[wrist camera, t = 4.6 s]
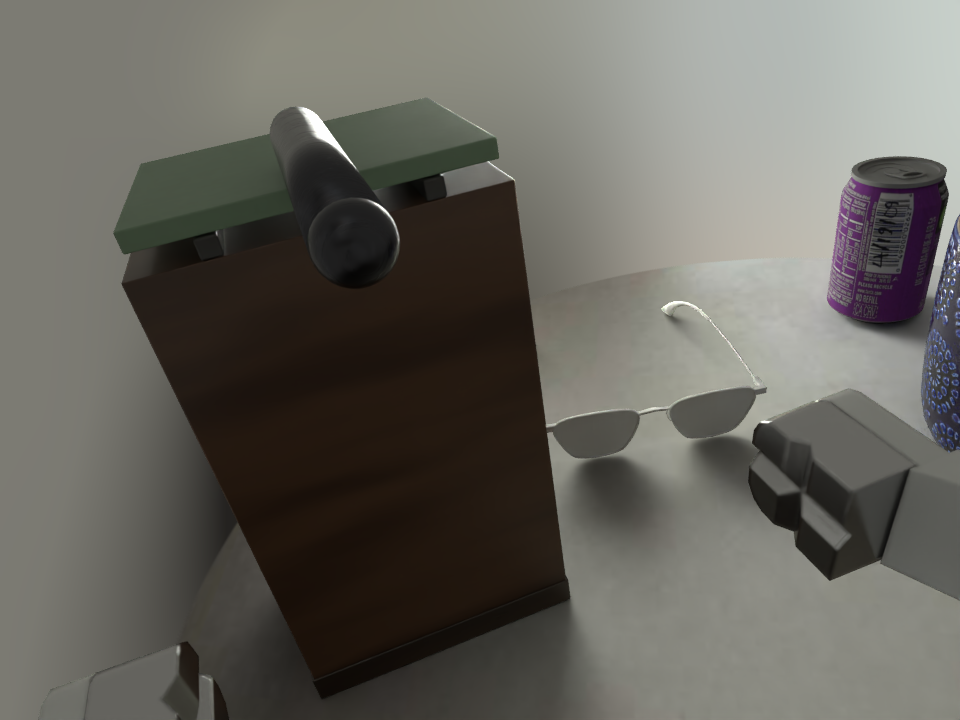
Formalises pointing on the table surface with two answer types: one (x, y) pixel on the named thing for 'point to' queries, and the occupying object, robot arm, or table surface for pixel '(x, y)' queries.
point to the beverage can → (887, 238)
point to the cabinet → (371, 421)
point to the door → (306, 183)
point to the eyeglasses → (688, 414)
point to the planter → (944, 354)
